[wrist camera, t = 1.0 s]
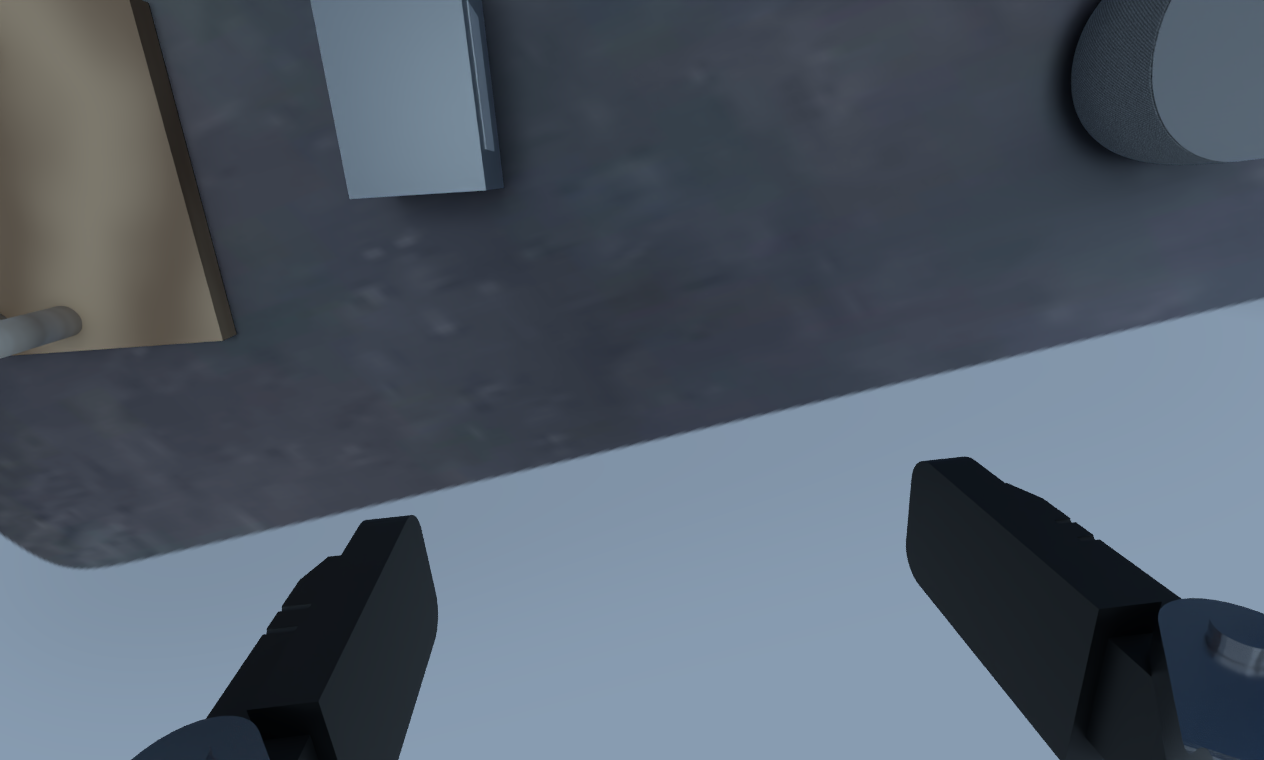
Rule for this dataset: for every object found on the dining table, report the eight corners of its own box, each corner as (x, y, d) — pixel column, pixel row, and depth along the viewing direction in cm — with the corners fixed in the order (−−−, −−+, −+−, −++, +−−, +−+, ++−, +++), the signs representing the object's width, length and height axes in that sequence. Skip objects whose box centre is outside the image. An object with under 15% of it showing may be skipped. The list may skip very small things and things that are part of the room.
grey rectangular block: (394, 194, 28) (348, 199, 23) (359, -4, 26) (298, -55, 20) (505, 187, 29) (487, 190, 23) (482, -10, 26) (455, -61, 20)
